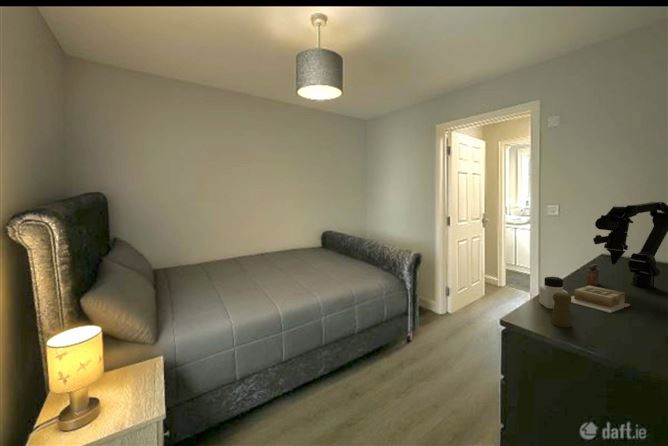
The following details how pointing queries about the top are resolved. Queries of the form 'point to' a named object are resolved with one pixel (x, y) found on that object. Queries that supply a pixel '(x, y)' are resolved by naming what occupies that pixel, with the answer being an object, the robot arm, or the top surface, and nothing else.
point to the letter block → (599, 296)
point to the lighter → (593, 275)
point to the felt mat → (599, 307)
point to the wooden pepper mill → (561, 310)
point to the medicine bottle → (550, 291)
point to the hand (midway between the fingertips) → (613, 264)
